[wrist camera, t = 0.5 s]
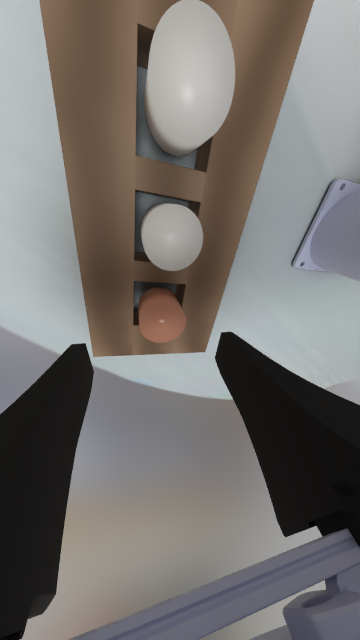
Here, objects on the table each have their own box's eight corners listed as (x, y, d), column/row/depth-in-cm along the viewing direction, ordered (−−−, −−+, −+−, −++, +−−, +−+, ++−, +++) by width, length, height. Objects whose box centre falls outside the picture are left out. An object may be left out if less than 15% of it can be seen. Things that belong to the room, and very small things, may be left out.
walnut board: (281, 15, 10) (326, -41, 8) (197, 336, 23) (205, 352, 21) (42, -121, 7) (-4, -284, 5) (98, 337, 20) (93, 356, 18)
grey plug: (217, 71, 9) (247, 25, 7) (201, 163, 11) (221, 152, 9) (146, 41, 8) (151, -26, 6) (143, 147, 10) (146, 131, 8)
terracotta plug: (181, 288, 15) (189, 304, 13) (175, 322, 17) (182, 342, 15) (138, 285, 14) (139, 303, 12) (137, 322, 16) (138, 343, 14)
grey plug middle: (194, 208, 12) (209, 210, 10) (185, 260, 14) (196, 273, 12) (141, 198, 11) (143, 198, 9) (139, 255, 13) (141, 268, 11)
